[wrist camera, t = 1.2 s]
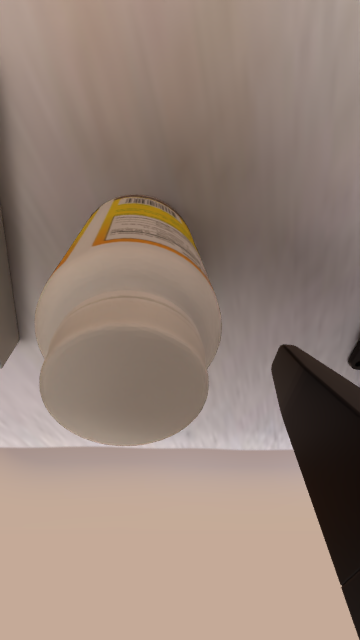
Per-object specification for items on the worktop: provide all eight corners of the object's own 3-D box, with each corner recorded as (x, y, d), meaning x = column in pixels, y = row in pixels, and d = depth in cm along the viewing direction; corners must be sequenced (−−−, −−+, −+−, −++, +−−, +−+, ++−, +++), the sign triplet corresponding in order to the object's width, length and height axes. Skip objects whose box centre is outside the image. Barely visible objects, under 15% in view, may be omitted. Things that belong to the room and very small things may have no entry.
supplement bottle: (114, 310, 18) (79, 486, 9) (62, 217, 15) (-66, 347, 6) (206, 276, 17) (264, 431, 8) (170, 172, 14) (201, 244, 5)
